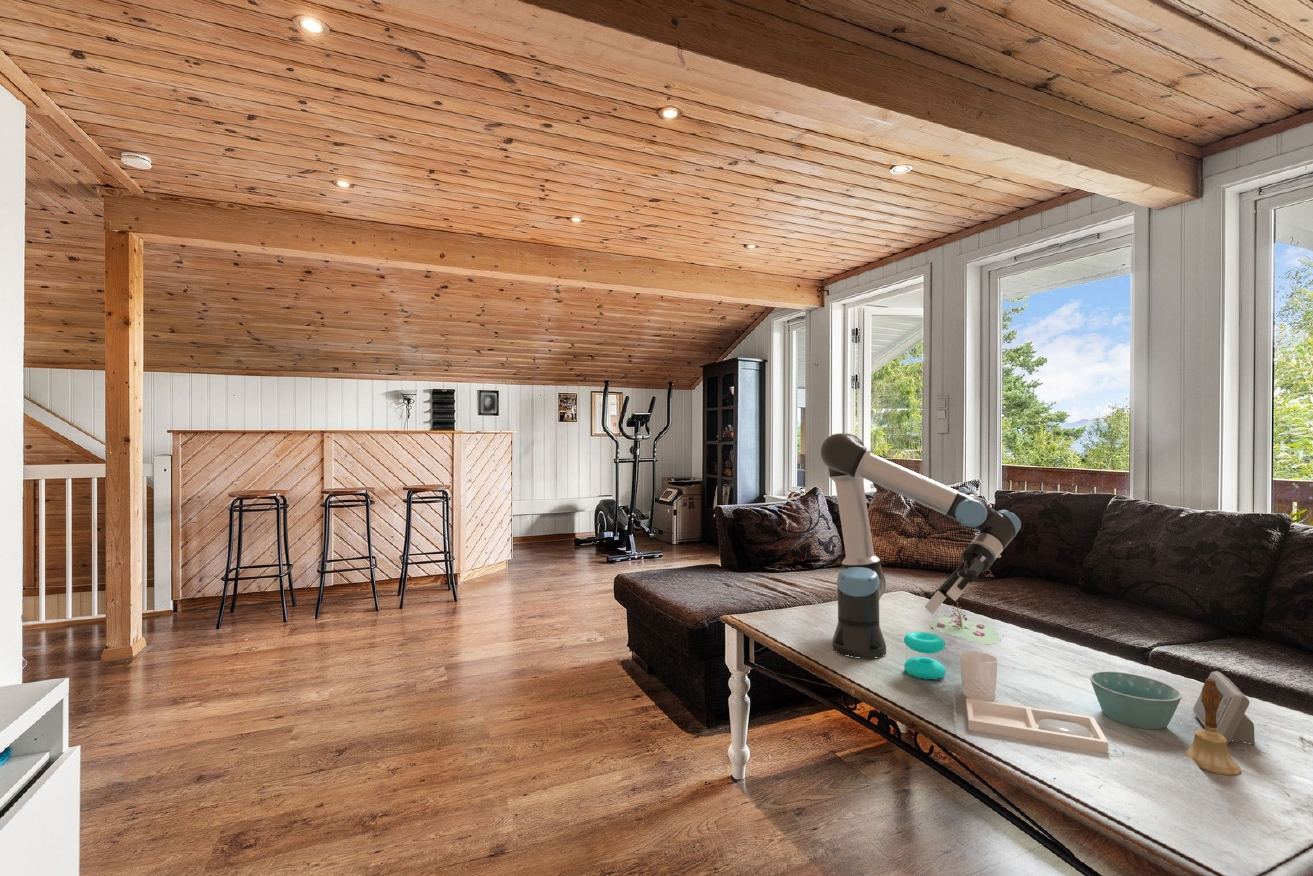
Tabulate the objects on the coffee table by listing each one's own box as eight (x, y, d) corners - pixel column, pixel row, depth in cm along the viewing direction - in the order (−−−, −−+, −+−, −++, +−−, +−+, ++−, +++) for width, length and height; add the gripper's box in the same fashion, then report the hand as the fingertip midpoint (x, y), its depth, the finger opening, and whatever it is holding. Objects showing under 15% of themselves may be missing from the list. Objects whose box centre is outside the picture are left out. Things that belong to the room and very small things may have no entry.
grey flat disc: (1042, 738, 122) (1041, 733, 122) (1035, 720, 131) (1035, 715, 131) (1095, 747, 119) (1095, 742, 119) (1085, 727, 127) (1085, 723, 127)
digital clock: (1192, 713, 136) (1191, 665, 136) (1248, 724, 130) (1247, 675, 130) (1195, 740, 123) (1194, 688, 124) (1257, 754, 118) (1256, 699, 118)
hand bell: (1247, 766, 113) (1245, 681, 113) (1233, 780, 109) (1231, 691, 109) (1190, 748, 120) (1188, 667, 120) (1174, 760, 116) (1173, 676, 116)
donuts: (941, 644, 153) (899, 637, 159) (941, 684, 153) (900, 676, 159) (948, 634, 161) (908, 628, 167) (948, 672, 161) (909, 664, 167)
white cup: (988, 692, 148) (988, 651, 148) (1004, 706, 140) (1003, 663, 140) (955, 691, 148) (954, 651, 148) (968, 705, 140) (967, 662, 141)
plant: (1026, 643, 185) (1026, 613, 186) (969, 648, 181) (968, 618, 181) (967, 620, 210) (967, 594, 210) (915, 624, 205) (915, 597, 205)
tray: (968, 734, 127) (968, 719, 127) (966, 711, 138) (966, 698, 138) (1108, 758, 117) (1108, 742, 117) (1093, 731, 127) (1093, 717, 127)
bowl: (1167, 714, 135) (1167, 677, 135) (1195, 746, 121) (1194, 704, 121) (1083, 702, 142) (1082, 667, 142) (1099, 731, 128) (1099, 692, 128)
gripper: (1018, 547, 159) (974, 602, 151) (971, 575, 180) (931, 624, 173) (993, 527, 161) (948, 580, 153) (950, 557, 183) (909, 605, 175)
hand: (939, 603), depth 163 cm, fingers open, 13 cm apart
